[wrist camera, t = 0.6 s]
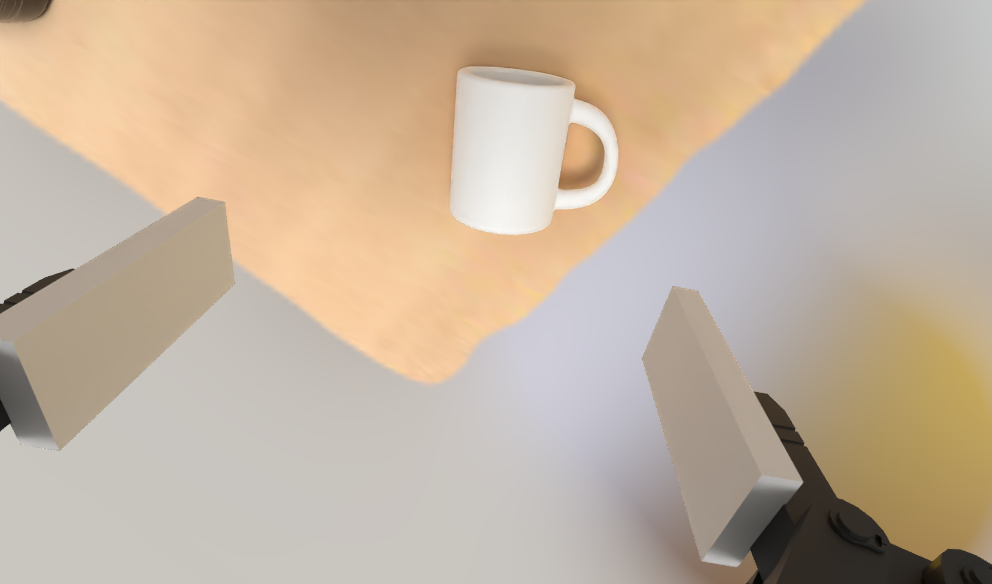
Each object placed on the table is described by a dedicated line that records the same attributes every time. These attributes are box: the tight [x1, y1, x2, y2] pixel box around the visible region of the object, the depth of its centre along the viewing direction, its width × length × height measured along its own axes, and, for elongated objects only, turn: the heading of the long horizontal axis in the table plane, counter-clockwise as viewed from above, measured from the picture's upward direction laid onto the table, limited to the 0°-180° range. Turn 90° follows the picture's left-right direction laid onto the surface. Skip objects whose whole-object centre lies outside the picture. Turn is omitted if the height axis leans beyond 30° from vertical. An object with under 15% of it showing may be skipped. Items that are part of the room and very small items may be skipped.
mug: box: [449, 66, 618, 235], centre depth 35 cm, size 12×10×8 cm
